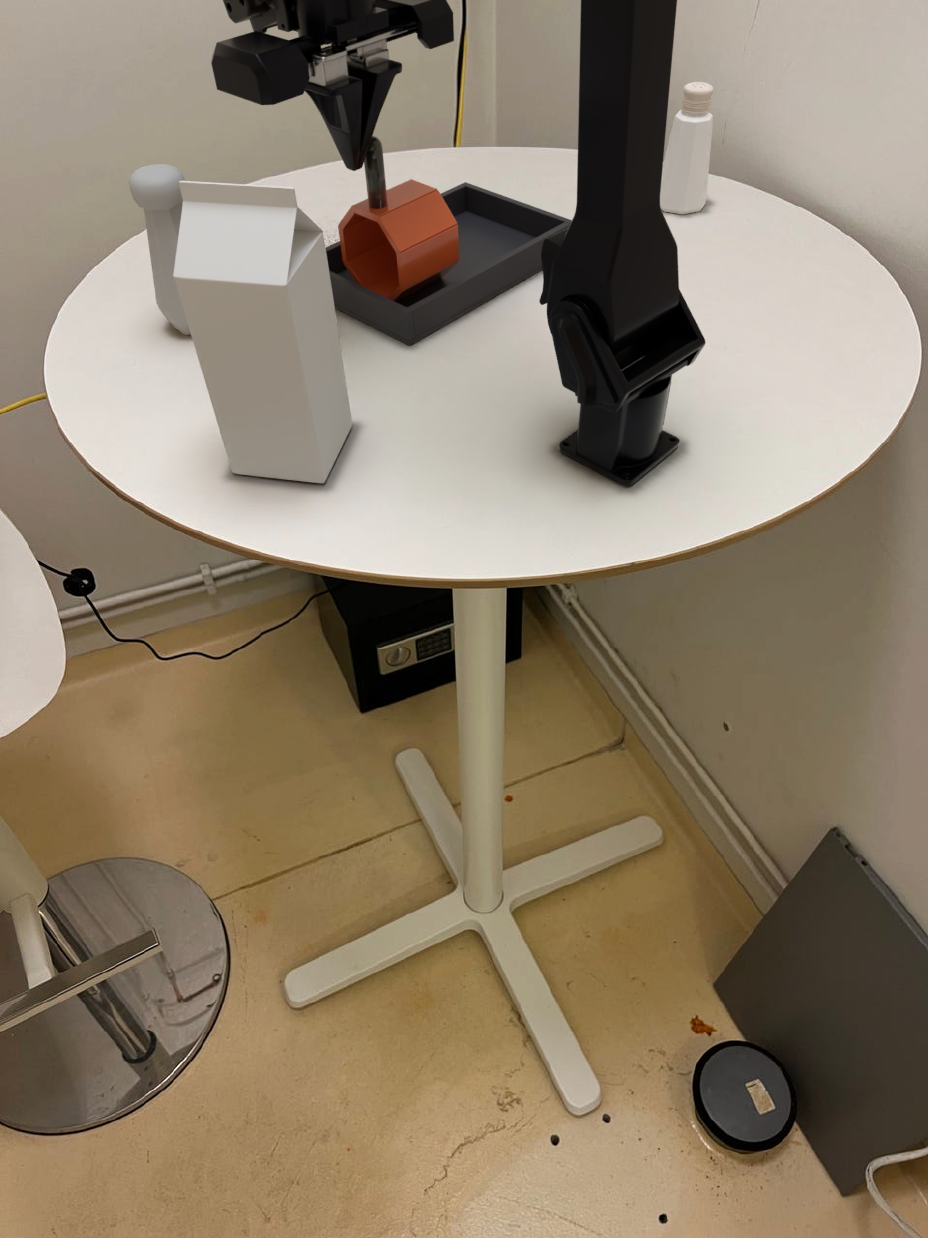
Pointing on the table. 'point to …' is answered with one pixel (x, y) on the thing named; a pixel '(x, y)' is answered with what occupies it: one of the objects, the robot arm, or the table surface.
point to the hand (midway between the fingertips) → (354, 168)
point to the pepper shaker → (688, 153)
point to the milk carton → (263, 328)
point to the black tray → (457, 265)
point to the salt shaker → (162, 233)
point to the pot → (397, 234)
